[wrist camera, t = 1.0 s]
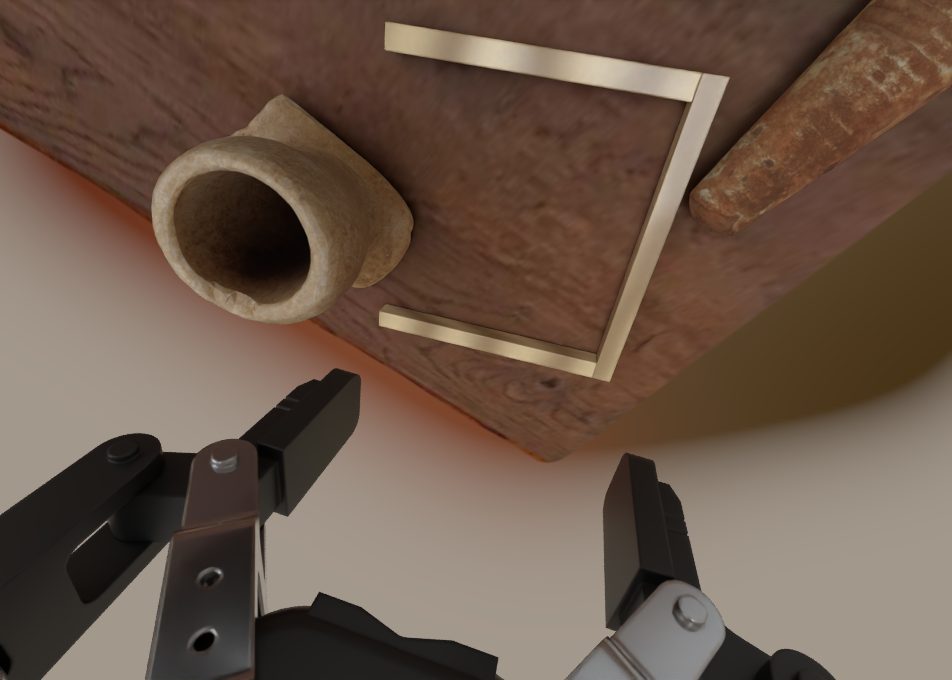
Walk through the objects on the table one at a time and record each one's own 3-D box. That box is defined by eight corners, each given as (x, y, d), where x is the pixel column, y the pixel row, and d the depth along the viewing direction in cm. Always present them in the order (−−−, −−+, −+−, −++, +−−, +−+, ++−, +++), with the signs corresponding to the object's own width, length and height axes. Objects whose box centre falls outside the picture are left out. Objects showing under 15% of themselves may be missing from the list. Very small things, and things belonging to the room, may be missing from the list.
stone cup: (453, 198, 32) (369, 274, 20) (371, 296, 39) (268, 401, 26) (287, 40, 29) (65, 13, 17) (227, 173, 36) (32, 226, 23)
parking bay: (385, 317, 40) (378, 325, 38) (393, 23, 28) (384, 21, 26) (608, 371, 37) (609, 382, 36) (723, 77, 25) (730, 76, 24)
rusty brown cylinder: (1089, -51, 20) (1240, -89, 15) (716, 240, 30) (740, 270, 25) (1018, -166, 19) (1159, -246, 14) (655, 177, 29) (668, 197, 24)
